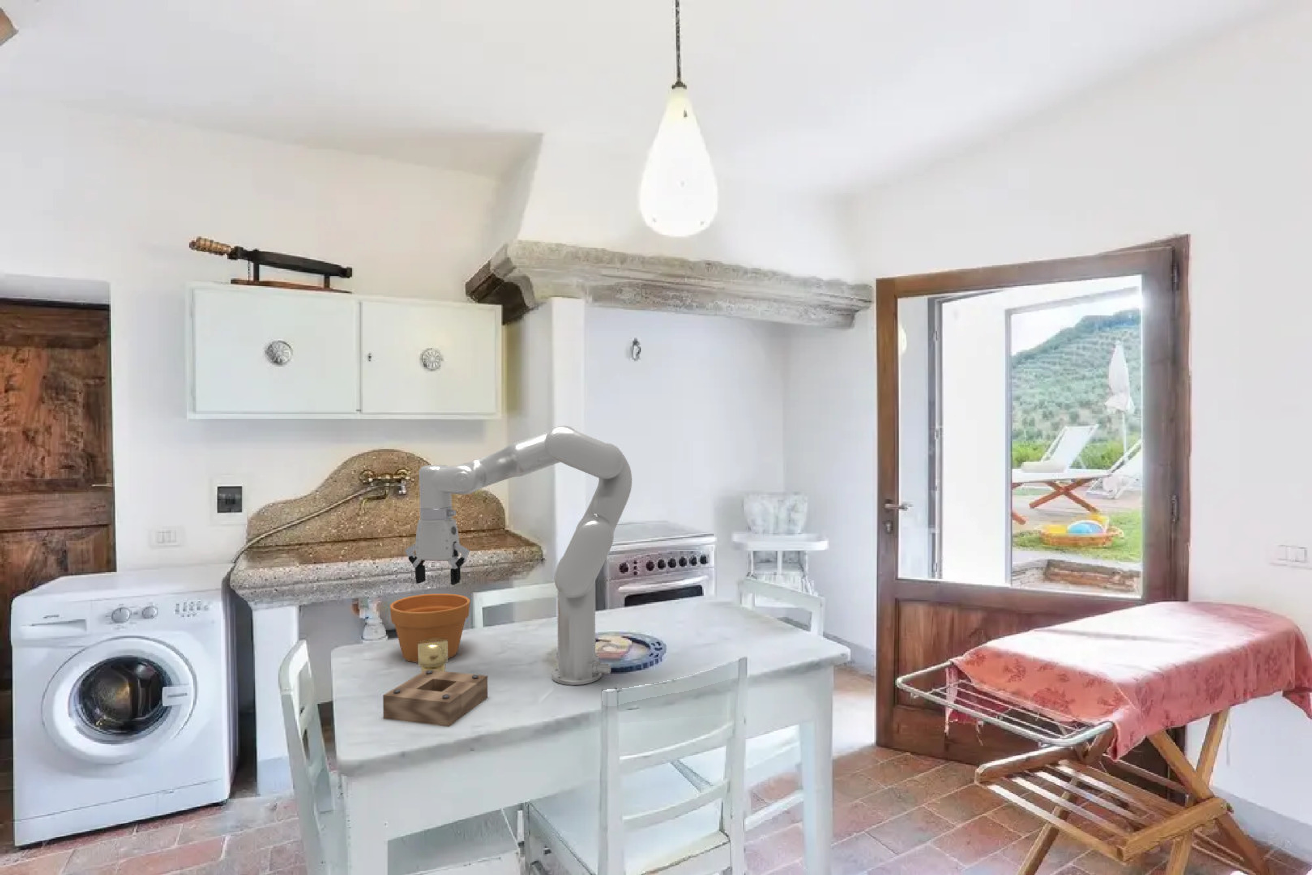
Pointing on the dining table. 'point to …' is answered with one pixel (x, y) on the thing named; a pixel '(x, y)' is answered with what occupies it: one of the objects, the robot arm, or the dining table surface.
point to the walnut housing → (435, 697)
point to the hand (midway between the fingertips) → (438, 583)
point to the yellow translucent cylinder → (433, 654)
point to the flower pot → (429, 621)
